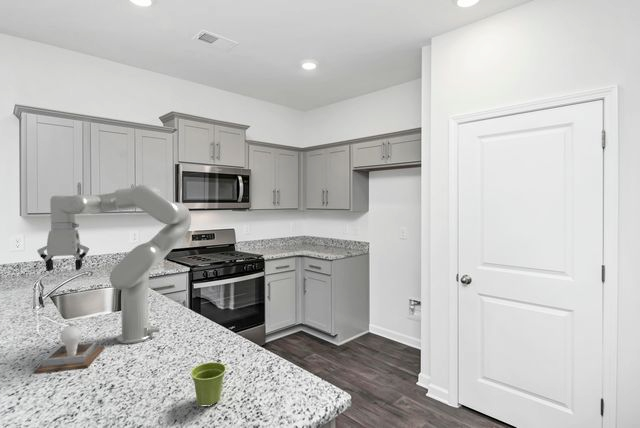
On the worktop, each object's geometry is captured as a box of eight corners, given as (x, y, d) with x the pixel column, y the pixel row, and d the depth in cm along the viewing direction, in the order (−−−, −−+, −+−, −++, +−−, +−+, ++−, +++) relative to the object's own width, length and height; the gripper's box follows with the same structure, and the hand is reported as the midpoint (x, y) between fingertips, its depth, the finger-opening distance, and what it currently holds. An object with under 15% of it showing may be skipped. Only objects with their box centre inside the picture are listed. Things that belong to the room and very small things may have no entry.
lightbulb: (79, 351, 122) (78, 321, 121) (85, 356, 118) (84, 325, 118) (58, 357, 117) (58, 326, 117) (63, 362, 113) (62, 330, 113)
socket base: (104, 348, 126) (104, 346, 126) (87, 367, 112) (87, 364, 112) (57, 353, 123) (57, 350, 123) (34, 373, 108) (34, 370, 108)
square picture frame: (98, 348, 125) (97, 341, 124) (84, 363, 113) (83, 356, 113) (60, 351, 121) (60, 345, 121) (42, 367, 110) (42, 360, 110)
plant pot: (230, 390, 98) (229, 361, 98) (221, 410, 89) (221, 378, 89) (197, 391, 98) (197, 362, 98) (185, 411, 89) (185, 379, 88)
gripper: (92, 225, 138) (93, 267, 139) (42, 226, 134) (43, 269, 135) (84, 227, 131) (85, 270, 132) (31, 228, 127) (33, 273, 127)
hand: (64, 269), depth 133 cm, fingers open, 9 cm apart
